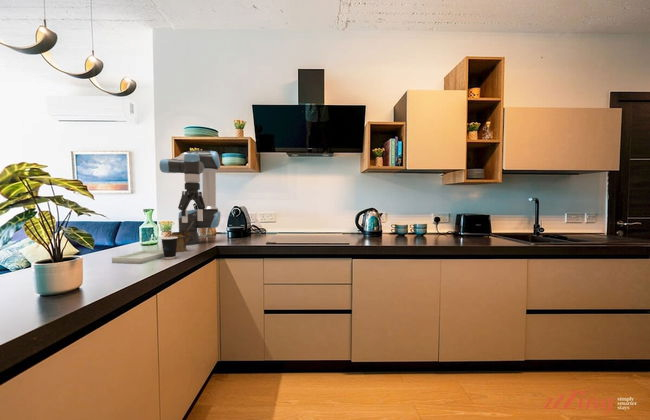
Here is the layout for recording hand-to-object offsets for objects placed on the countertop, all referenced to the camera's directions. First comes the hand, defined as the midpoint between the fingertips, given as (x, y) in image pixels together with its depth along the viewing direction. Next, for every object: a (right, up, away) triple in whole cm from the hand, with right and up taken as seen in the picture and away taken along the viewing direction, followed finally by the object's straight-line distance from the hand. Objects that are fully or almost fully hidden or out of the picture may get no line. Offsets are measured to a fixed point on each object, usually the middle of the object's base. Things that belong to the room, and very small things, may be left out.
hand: (192, 221), depth 152 cm
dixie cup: (-9, -19, -7) cm, 22 cm away
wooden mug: (-13, -18, +14) cm, 26 cm away
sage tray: (-22, -19, -8) cm, 30 cm away
